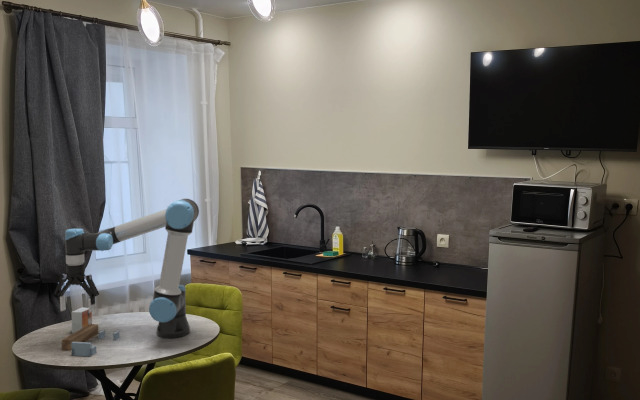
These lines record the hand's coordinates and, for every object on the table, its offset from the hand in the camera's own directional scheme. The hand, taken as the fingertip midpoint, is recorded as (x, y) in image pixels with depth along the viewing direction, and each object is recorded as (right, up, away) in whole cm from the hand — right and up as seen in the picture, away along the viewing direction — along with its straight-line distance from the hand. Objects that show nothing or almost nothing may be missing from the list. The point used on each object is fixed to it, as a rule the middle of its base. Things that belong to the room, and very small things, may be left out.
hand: (77, 311), depth 248 cm
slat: (0, -15, +3) cm, 15 cm away
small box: (-5, -13, +18) cm, 23 cm away
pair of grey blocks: (+11, -14, +8) cm, 20 cm away
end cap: (+8, -16, -12) cm, 21 cm away
